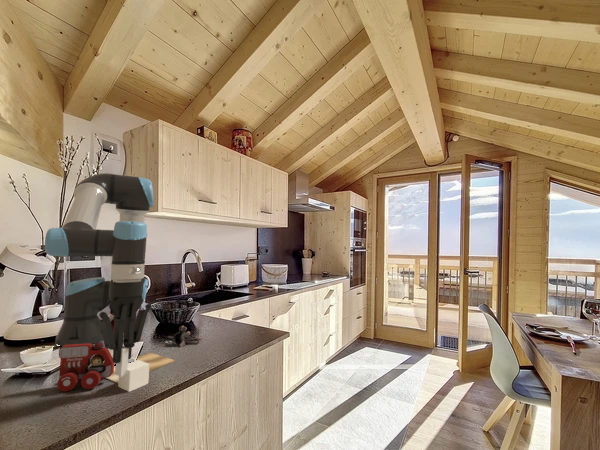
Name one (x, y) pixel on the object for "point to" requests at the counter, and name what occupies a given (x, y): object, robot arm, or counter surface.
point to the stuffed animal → (182, 338)
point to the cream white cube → (135, 376)
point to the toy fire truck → (84, 365)
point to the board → (149, 358)
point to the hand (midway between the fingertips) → (121, 374)
